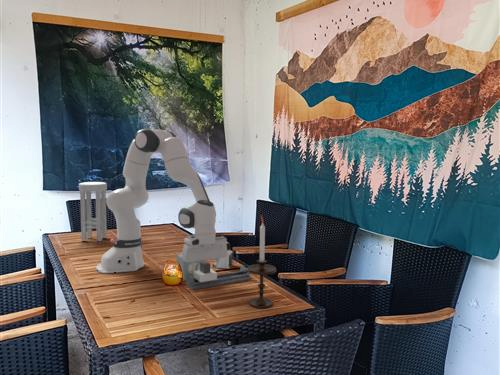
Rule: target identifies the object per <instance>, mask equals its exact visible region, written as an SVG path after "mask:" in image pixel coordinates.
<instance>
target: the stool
mask: <svg viewBox="0 0 500 375" xmlns="http://www.w3.org/2000/svg"><path fill="white" fill-rule="evenodd" d="M78 190H79V195H80V196H79V197H80V198H79V201H80V233H81V234H80V235H81V242H82V241H86V240H87V241H88V239H87V237H92V238H93V229H94V230H96V231H95V232H96V242H97V241H103V239H102V238H106V237H107V236H108V235H107V234H108V232H107V231H108V230H107V203H106V199H107V194H106V193H107V192H106V191H107V190H108V184H107V182H104V181H103V182H102V181H87V182H85V181H84V182H81V183H78ZM92 192H94V193H95V218H93V216H92V213H93V212H92ZM107 238H108V237H107ZM107 238H106V239H107ZM87 241H86V242H87Z"/></svg>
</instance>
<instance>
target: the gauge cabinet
mask: <svg viewBox="0 0 500 375" xmlns="http://www.w3.org/2000/svg"><path fill="white" fill-rule="evenodd" d="M177 262H178V263H179V264H180V266H181V269H182V273H183V280H182V281H183V282H184V281H185V282H186V275H187V274H188V275H190V276H191V277H193V267H192V265H191V263H190V262H187V263H186V262H185V261H183V259H182V253H177V254H176V263H177ZM200 262H205V260H202V261H195V264H194V265H195V266H196V267H197V270H200ZM194 279H195V278H194Z"/></svg>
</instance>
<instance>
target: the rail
mask: <svg viewBox="0 0 500 375" xmlns="http://www.w3.org/2000/svg"><path fill="white" fill-rule="evenodd" d="M239 269H240V270H239V271H232V272H226V273H220V274H217V280H211V281H205V282H199V281H197V280H196V279H194V278H193V277H191V276H190V275H188V274H187V275H186V280H185V285H186V286H187V287H188V288H189V289H191V290H192V291H194V290H195V291H196V290H201V289H206V288H212V287H219V286H223V285H228V284H229V285H230V284H234V283H239V282H241V283H242V282H245V281H250V280H251V275H250V274H251V273H250V272H248V267H246V266H243V265H240V268H239Z"/></svg>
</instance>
